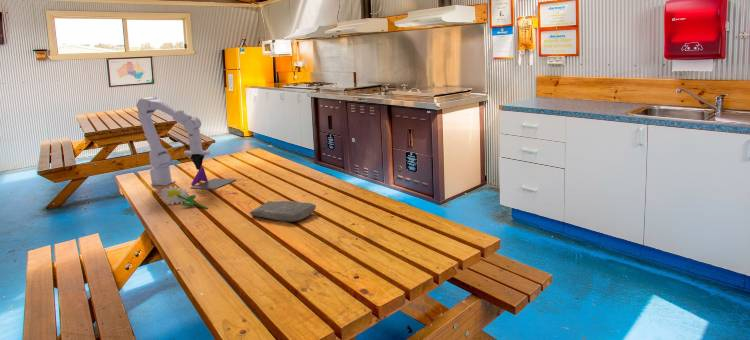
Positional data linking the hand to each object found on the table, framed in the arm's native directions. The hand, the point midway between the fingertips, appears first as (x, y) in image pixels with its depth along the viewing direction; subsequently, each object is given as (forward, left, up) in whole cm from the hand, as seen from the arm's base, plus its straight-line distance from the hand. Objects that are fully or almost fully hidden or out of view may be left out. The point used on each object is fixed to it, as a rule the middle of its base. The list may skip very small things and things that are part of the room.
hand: (199, 169), depth 262 cm
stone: (+70, -37, -8) cm, 79 cm away
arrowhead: (-1, 0, -7) cm, 7 cm away
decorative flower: (+18, -31, -8) cm, 37 cm away
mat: (+8, 0, -7) cm, 11 cm away
